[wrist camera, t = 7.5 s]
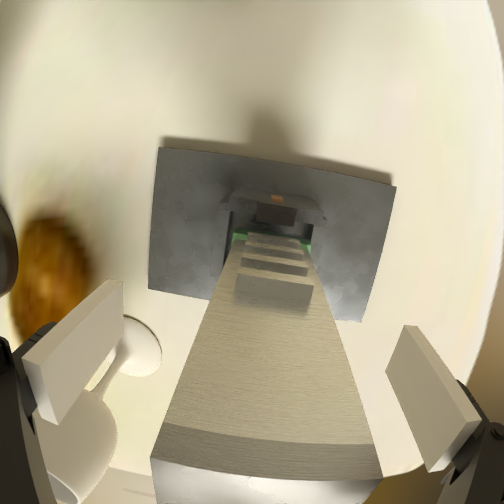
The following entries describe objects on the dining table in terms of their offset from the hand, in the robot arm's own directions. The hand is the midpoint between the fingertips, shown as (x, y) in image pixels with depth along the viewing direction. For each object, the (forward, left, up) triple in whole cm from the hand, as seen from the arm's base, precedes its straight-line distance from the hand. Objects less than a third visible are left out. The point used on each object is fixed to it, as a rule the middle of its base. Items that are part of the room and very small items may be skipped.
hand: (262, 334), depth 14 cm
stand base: (0, 0, -17) cm, 17 cm away
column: (0, 0, -10) cm, 10 cm away
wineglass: (-14, -16, -18) cm, 28 cm away
